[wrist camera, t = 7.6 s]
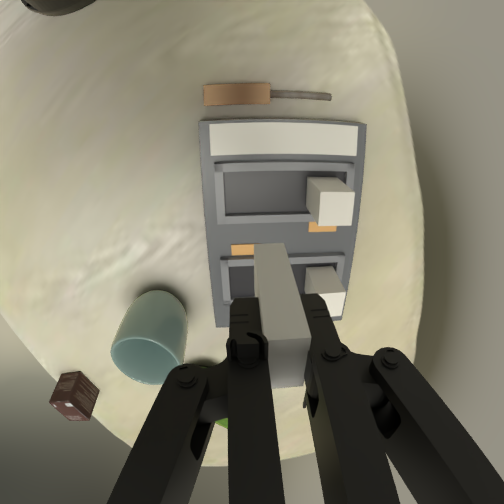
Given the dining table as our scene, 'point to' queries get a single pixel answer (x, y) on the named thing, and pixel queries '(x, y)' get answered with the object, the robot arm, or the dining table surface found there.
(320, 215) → the tab
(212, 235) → the switch board
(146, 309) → the cup
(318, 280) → the tab
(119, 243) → the dining table surface
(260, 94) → the screwdriver
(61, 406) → the box
